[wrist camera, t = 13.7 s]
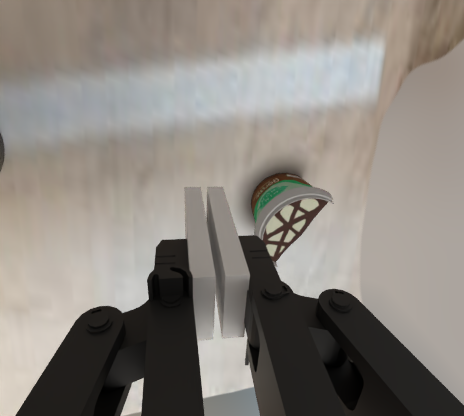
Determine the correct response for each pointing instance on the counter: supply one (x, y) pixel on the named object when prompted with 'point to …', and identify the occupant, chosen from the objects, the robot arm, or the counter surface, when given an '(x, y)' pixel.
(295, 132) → the counter surface
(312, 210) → the food container
